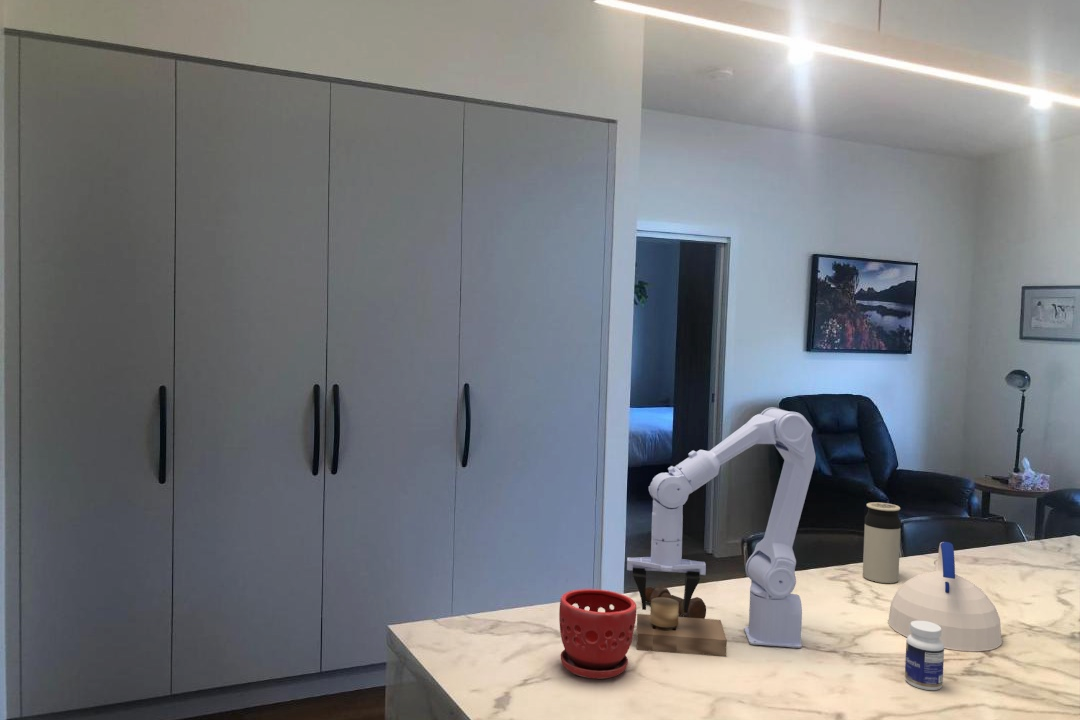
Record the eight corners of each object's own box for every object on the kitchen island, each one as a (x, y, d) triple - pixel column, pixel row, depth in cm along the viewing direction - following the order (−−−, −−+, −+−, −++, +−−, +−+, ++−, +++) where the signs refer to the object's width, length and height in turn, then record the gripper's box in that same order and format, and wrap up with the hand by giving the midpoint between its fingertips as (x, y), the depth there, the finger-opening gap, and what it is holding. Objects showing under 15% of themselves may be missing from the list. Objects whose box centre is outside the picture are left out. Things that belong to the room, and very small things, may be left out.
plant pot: (613, 692, 123) (615, 618, 122) (543, 671, 130) (545, 601, 129) (646, 664, 134) (648, 596, 133) (580, 646, 141) (582, 581, 140)
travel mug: (904, 584, 182) (907, 509, 181) (870, 583, 182) (873, 508, 182) (889, 574, 190) (892, 502, 189) (857, 573, 190) (860, 501, 190)
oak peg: (675, 636, 146) (677, 598, 146) (679, 647, 141) (680, 607, 141) (648, 635, 147) (649, 596, 146) (650, 646, 141) (652, 606, 141)
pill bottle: (897, 676, 131) (900, 619, 131) (929, 675, 132) (931, 618, 132) (917, 691, 126) (919, 632, 125) (950, 691, 126) (952, 631, 126)
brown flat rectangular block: (720, 635, 148) (720, 619, 148) (726, 656, 138) (726, 639, 138) (636, 629, 150) (637, 613, 150) (636, 649, 140) (637, 633, 140)
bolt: (648, 610, 166) (700, 630, 154) (633, 602, 163) (684, 622, 151) (658, 584, 168) (710, 603, 155) (644, 576, 165) (695, 594, 153)
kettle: (995, 623, 158) (999, 537, 158) (1008, 661, 139) (1013, 563, 139) (888, 606, 167) (891, 524, 166) (887, 639, 148) (891, 547, 147)
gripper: (627, 541, 140) (625, 614, 141) (708, 545, 139) (705, 619, 139) (628, 531, 147) (626, 601, 148) (704, 535, 146) (702, 606, 146)
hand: (664, 609), depth 144 cm, fingers open, 7 cm apart
